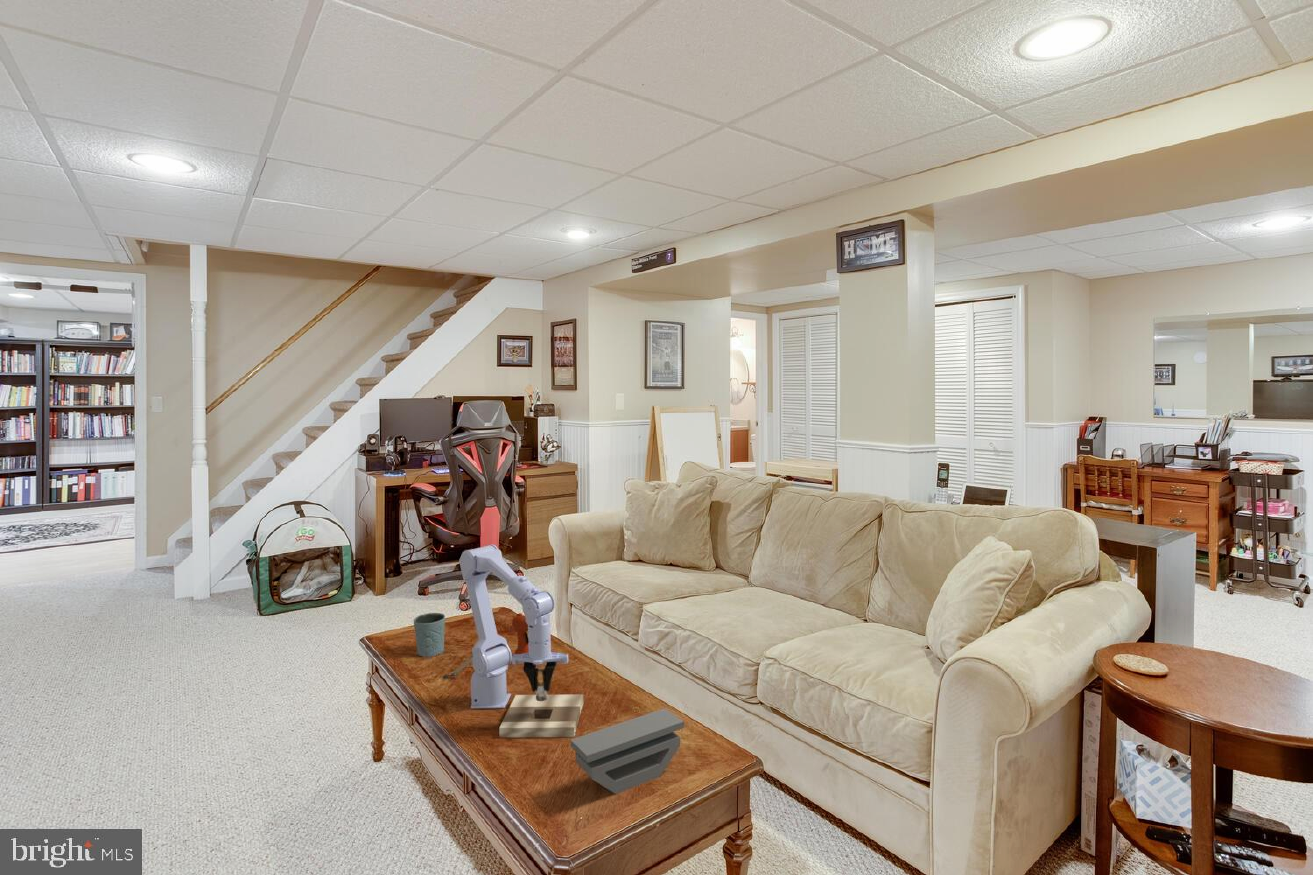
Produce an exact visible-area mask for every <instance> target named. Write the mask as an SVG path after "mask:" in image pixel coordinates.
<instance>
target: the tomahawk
mask: <svg viewBox="0 0 1313 875" xmlns="http://www.w3.org/2000/svg"><path fill="white" fill-rule="evenodd" d="M472 661H473V655H471V657H469V658H467V660H465V661H464V662H463V663H462V664H461V665H460V666H458V667H457V668H456V669H455V670H453V671H452V673H451V674H444V675H443V677H444V678H443V679H448V678H450V679H449V680H457V679H456V678H457V677H458V675H459V672H460V671H462V670H463V669H464V668H465V667H466V666H468V665H469V664H470V663H471V662H472ZM455 675H456V676H457V677H452V676H455ZM448 676H449V677H448ZM458 678H459V677H458Z"/></svg>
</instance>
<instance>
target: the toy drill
mask: <svg viewBox="0 0 1313 875" xmlns="http://www.w3.org/2000/svg"><path fill="white" fill-rule="evenodd" d="M511 623H512V624H511V625H512V628H513V630H514V631H515V632H516V634H517V648H516V649H515V650H514V654H524V653H529V641H528V624H527V622H526V617H525V614H523V613H522V612H518V613H517V614H516V615H515V616H514V617H513V619H512V621H511Z"/></svg>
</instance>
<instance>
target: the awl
mask: <svg viewBox="0 0 1313 875" xmlns="http://www.w3.org/2000/svg"><path fill="white" fill-rule="evenodd" d="M535 684H536V690H535V695H536V700H537V701H545V700H547V695H548V691H546V674H545V666H538V667H537V666H536V668H535Z"/></svg>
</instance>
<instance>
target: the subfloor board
mask: <svg viewBox="0 0 1313 875" xmlns="http://www.w3.org/2000/svg"><path fill="white" fill-rule="evenodd" d="M584 703H585V702H584V694H580V693H579V694H577V693H576V694H573V693H572V694H547V700H545V701H537V700H536V694H515V695H514V698H513V700H512V702H511V704H510V706H509V707H508V709H507V712H506V714H505V716H504V717H503V720H502V722H501V723H500V726H499V728H498V729H499V731H498V732H499V738H575V736H576V733H575V732H577V728H578V725H579V722H580V718H581V714H582V711H581V710H583V706H584ZM579 717H580V718H579Z"/></svg>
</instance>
